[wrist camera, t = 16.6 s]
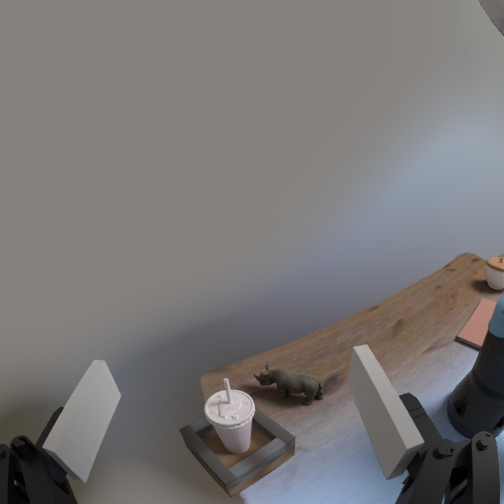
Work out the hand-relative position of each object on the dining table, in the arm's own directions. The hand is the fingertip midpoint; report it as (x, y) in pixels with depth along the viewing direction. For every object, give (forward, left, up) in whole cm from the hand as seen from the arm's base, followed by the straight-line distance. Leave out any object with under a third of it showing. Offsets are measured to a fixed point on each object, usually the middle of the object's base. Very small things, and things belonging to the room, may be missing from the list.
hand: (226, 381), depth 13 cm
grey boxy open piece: (-6, -12, -30) cm, 33 cm away
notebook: (-71, +16, -31) cm, 79 cm away
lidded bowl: (-102, +14, -30) cm, 107 cm away
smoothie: (-6, -12, -27) cm, 30 cm away
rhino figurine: (-21, -18, -30) cm, 41 cm away
